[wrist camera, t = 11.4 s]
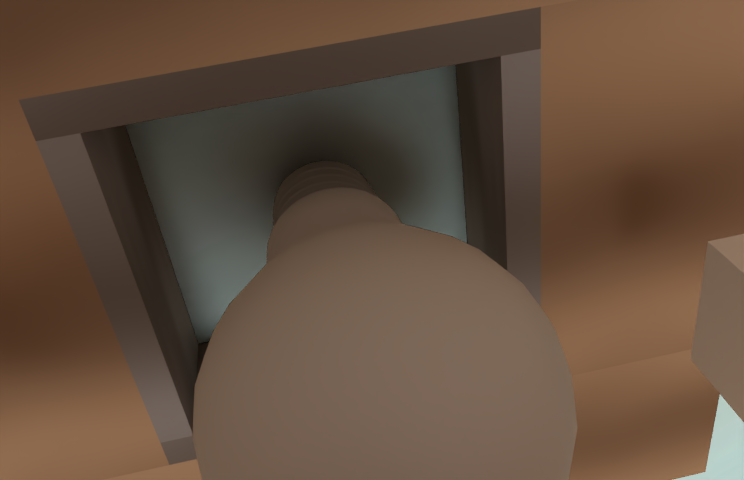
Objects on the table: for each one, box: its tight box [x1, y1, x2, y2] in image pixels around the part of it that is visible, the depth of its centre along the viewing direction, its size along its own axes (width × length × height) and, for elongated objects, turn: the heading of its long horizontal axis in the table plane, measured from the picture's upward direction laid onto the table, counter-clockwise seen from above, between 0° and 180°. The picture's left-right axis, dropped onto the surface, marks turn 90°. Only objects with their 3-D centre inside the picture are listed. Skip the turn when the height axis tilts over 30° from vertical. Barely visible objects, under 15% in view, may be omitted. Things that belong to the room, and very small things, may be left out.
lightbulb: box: [193, 161, 577, 480], centre depth 14 cm, size 6×6×11 cm
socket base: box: [0, 0, 744, 480], centre depth 17 cm, size 20×20×4 cm
